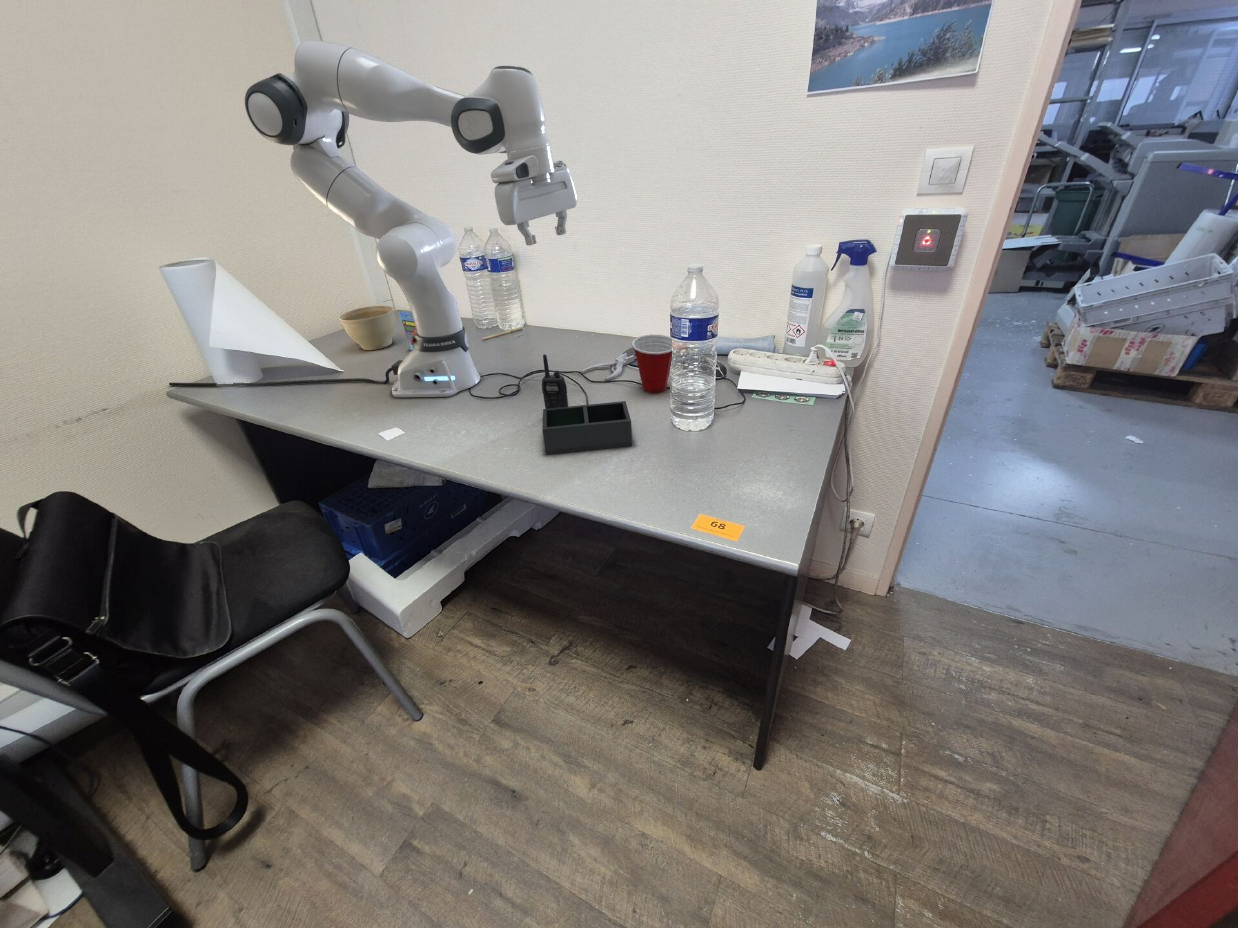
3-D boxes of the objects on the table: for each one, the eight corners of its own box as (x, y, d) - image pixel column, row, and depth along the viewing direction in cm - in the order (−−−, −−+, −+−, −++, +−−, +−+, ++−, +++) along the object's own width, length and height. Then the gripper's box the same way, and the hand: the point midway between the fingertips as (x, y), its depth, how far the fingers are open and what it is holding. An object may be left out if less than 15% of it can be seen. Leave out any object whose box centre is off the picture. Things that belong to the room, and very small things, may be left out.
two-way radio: (544, 420, 113) (534, 356, 105) (549, 411, 117) (541, 349, 109) (568, 421, 112) (560, 357, 104) (572, 412, 116) (565, 349, 108)
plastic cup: (647, 401, 118) (646, 353, 112) (625, 386, 126) (623, 339, 120) (685, 391, 122) (686, 343, 116) (662, 376, 130) (662, 331, 124)
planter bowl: (384, 334, 174) (375, 303, 168) (412, 342, 165) (403, 308, 160) (340, 349, 163) (328, 315, 157) (367, 357, 155) (356, 322, 149)
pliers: (580, 367, 134) (616, 350, 144) (580, 373, 135) (617, 356, 145) (607, 375, 129) (643, 357, 138) (608, 381, 130) (643, 363, 139)
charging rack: (632, 446, 101) (631, 420, 98) (546, 454, 100) (542, 429, 97) (626, 425, 109) (625, 400, 106) (546, 433, 108) (543, 408, 105)
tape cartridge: (438, 350, 157) (427, 310, 150) (428, 354, 154) (417, 314, 148) (419, 346, 161) (408, 307, 155) (409, 350, 159) (398, 311, 152)
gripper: (555, 161, 109) (568, 229, 117) (483, 175, 97) (502, 251, 104) (576, 157, 106) (588, 228, 113) (505, 171, 93) (523, 250, 100)
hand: (546, 239), depth 109 cm, fingers open, 8 cm apart
